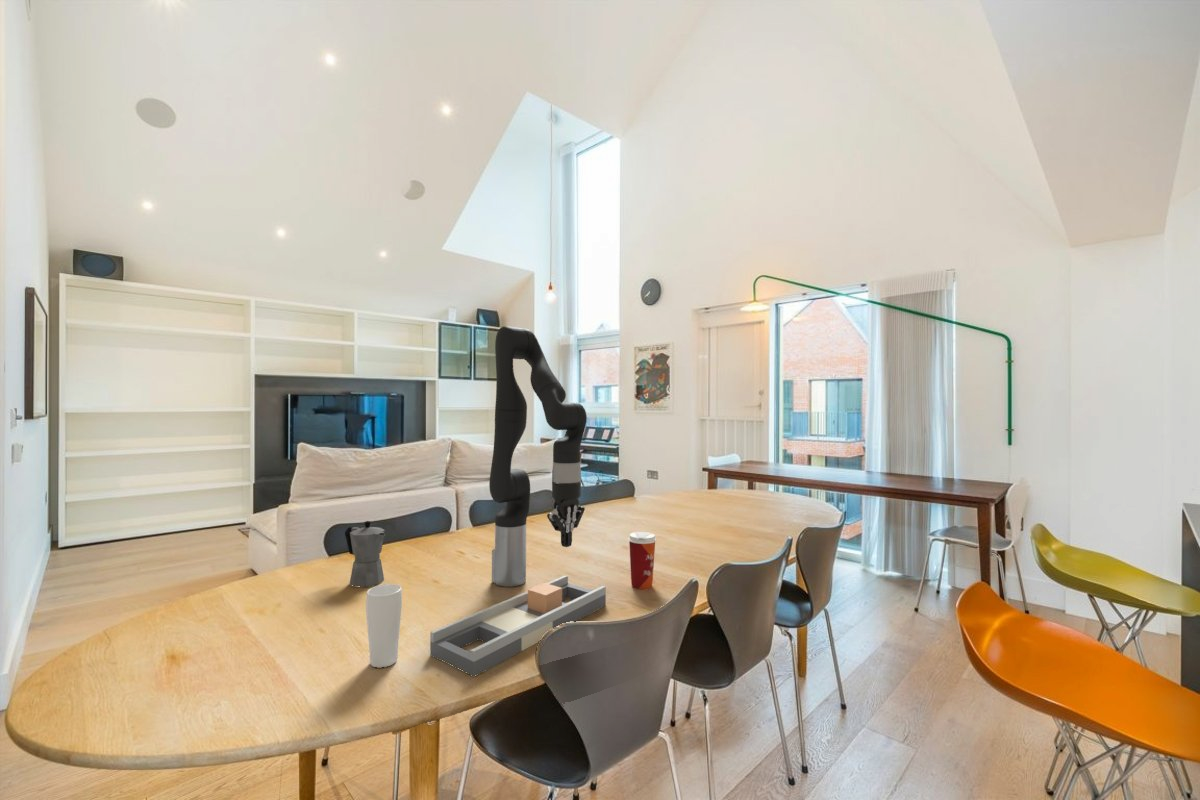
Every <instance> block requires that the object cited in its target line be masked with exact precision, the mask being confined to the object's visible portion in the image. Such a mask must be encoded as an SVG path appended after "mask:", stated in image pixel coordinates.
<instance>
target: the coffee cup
mask: <svg viewBox="0 0 1200 800" xmlns="http://www.w3.org/2000/svg"><path fill="white" fill-rule="evenodd" d="M627 540H628V541H629V561H630V565H629V566H630V580H631V581H630V583H631V587H632V588H633V589H635V590H638V589H639V590H640V591H647V589H648V590H651V589H652V588H653V581H654V580H653V579H654V567H655V553H656V552H655V551H656V549H655V548H656V543H657V539H656V535H655V534H654V533H651V532H648V531H634V532H631V533H630V534H629V537H628V538H627ZM651 587H652V588H651Z"/></svg>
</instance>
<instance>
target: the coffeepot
mask: <svg viewBox="0 0 1200 800" xmlns="http://www.w3.org/2000/svg"><path fill="white" fill-rule="evenodd" d="M344 536H345V537H344V538H345V541H346V544H347V548H348V553H349V554H350V555H353V556H354V561H353V564H352V569H351V574H350V580H349V584H350V586H351V585H353V586H360V587H363V588H368V587H367V586H371V587H373V586H372V585H375V586H377V585H376V584H378V585H380V584H382V583H383V581H384V580H385V575H384V570H383V565H382V559H381V555H380V554H381V553H382V551H383V550H382V549H383V543H384V537H386V533H385V529H383V528H382V527H377V526H375V527H374V526H373V527H372V526H371V521H370V520H366V521H364V527H361V528H360V527H357V526H356V527H355V526H348V527H347V529H345V531H344ZM379 583H380V584H379ZM353 586H352V587H353Z"/></svg>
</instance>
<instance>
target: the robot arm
mask: <svg viewBox="0 0 1200 800" xmlns="http://www.w3.org/2000/svg"><path fill="white" fill-rule="evenodd" d="M494 344H495V345H494V349H495V350H494V351H495V352H494V354H495V371H496V373H495V374H496V379H495V380H496V389H495V391H496V392H495V406H494V408H495V409H494V435H493V437H494V438H493V439H494V440H493V450H492V451H493V452H492V460H491V467H490V474H489V493H490V497H491V498H492V500H493V501H494V502H495V503H499V504H503V503H506V504H505V506H504V507H503V508H502V509H501V510H500V511H499V512H497V513H496V514H495V517H494V548H493V549H492V550H491V583H494V584H495V585H497V586H500V587H506V588H507V587H509V588H510V587H518V586H522V585H523V584H525V583H526V581H527V518H528V517H529V513H530V502H531V501H530V498H531V482H530V480H531V479H530V477H529V475H528V473H527V472H526V470H524V469H521V468H512V462H513V461H512V459H513V456H514V453H515V449H516V448H517V445H518V444H519V442H520V441H521V438H522V436H523V435H524V432H525V431H526V427H527V418H528V413H527V412H528V404H527V400H526V397H525V396H524V395H525V394H524V393H523V391H522V390H521V388H520V386H519V384H518V382H517V379H516V377H515V373H514V360H524V361H525V362H527V363H528V365H530V367H531V371H530V379H529V380H530V384H531V388H532V390H533V391H534V393H535V394H536V396H537V398H538V400H539V401H540V402H541V404H542V409H543V413H544V417H545V420H546V423H547V424H548V426H549V427H550V428H552V429H553V430H556V431H566V432H565V434H564V436H563V437H562V438H559V439H556V440H554V442H553V447H552V450H553V451H552V469H551V470H552V471H551V496H552V497H551V498H553V499H554V504H553V510H552V511H551V512H550V513H549V512H548V513H547V515H546V518H547V519H548V522H550V524H551V527H553V529H554V531H557V532H560V544H561V546H562V547H564V548H569V547H571V546H572V542H573V531H574V529H575V528H576V529H577V528H578V527H579V524H580V522H581V519H582V517H583V515H584V513H585V509H586V508H585V507H584V506H581V505H580V501H579V499H580V498H581V497H582V468H581V467H582V466H581V445H582V441H583V437H584V434H585V429H586V425H587V421H588V420H587V419H588V417H587V412H586V409H585V407H584V406H583V405H582V404H580V403H579V402H564V401H565V400H566V396H567V394H566V391H565V389H564V387H563V386H562V384H561V383H560V381H559V380H558V379H557V377H556V376H555V375H554V373H553V371H552V369H551V367H550V366H549V363H548V361H547V359H546V357H545V354H544V352H543V350H542V347H541V345H540V343H539V341H538V338H537V336H536V335H535V334H534V331H532V330H531V329H528V328H525V327H523V328H522V327H515V326H509V325H506V326H505V325H504V326H503V325H502V326H501V327H500V328H499V329H498V331H497V333H496V335H495V343H494Z"/></svg>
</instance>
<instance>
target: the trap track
mask: <svg viewBox="0 0 1200 800" xmlns="http://www.w3.org/2000/svg"><path fill="white" fill-rule="evenodd" d="M546 583H547V584H551V585H554V586H557V587H561V588H562V606H560V607H558V608H556V609H554V610H552V611H550V612H548V613H546V614H544V613H541V612H538V611H535V610H532V609H530V608H528V590H526V591H524V592H522V593H520V594H517V595H515V596H513V597H510V598H507V599H506V600H504V601H500V602H498V603H496V604H493V605H491V606H489V607H486V608H484V609H482V610H480V611H477V612H475V613H471V614H470V615H467V616H465V617H463V618H460V619H457V620H455V621H453V622H450V623H449V624H446V625H444V626H441V627H438V628H436V629H433V630H432V631H430V635H429V636H430V647H429V648H430V649H429V650H430V652H429V653H430V654H429V655H430V656H431V655H432V656H431V657H433V656H434V657H433V658H435V657H436V658H435V659H437V658H438V659H437V660H439V659H441V660H443V661H445V662H447V663H449V664H451V665H453V666H454V667H453V666H452V667H453V668H455V667H456V668H455V669H457V668H459V669H461V670H463V671H464V672H463V671H462V672H463V673H465V672H467V673H469V674H470V675H472V676H475V675H477V674H479V673H481V672H482V673H484V672H486V671H488V670H490V669H492V668H493V667H495V666H497V665H499V664H500V662H501V663H503V662H505V661H506V660H508V659H510V658H512V657H514V656H515V655H518V654H519V653H521V652H523V651H525V650H527V649H528V648H530V647H532V646H533V645H536V644H538V643H539V642H540V641H539V640H540V639H541V638H542V636H543V635H544V634H545V633H546V632H547V631H549V630H550V629H552V628H554V627H556V626H558V625H560V624H562V623H566V622H570V621H576V622H578V621H579V620H581V619H580V618H582V619H583V618H585V617H587V616H589V615H590V614H593V613H594V612H596V611H597V610H598V611H599V610H600V609H602V608H603V607H605V606H606V603H607V600H606V598H607V597H606V596H607V594H606V591H607V586H605V585H602V586H599V587H597V588H595V589H589V588H586V587H584V586H583V587H582V586H579V585H577V584H572V583H569V575H563V576H561V577H558V578H556V579H553V580H551V581H548V582H546ZM564 599H571V600H570V601H568V602H564V601H563V600H564ZM577 620H578V621H577ZM477 639H481V640H483V641H482V642H484V641H485V642H484V643H482V644H480V645H478V646H476V647H475V648H472V649H470V651H468V650H466V649H464V648H463V647H462V646H464V647H466V646H467V645H466V644H468V645H470V644H472V643H474V642H476V641H475V640H477ZM481 640H480V641H481ZM473 641H474V642H473ZM477 641H478V640H477ZM538 641H539V642H538ZM471 642H472V643H471ZM469 643H470V644H469ZM465 645H466V646H465ZM460 647H462V648H460ZM441 660H440V661H441ZM443 661H442V662H443ZM502 661H503V662H502ZM445 662H444V663H445ZM447 663H446V664H447ZM449 664H448V665H449ZM451 665H450V666H451ZM489 668H490V669H489ZM459 669H458V670H459ZM461 670H460V671H461ZM485 670H486V671H485ZM483 671H484V672H483ZM467 673H466V674H467ZM482 673H481V674H482ZM470 675H469V676H470ZM479 675H480V674H479ZM472 676H471V677H472ZM477 676H478V675H477ZM475 677H476V676H475Z"/></svg>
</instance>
